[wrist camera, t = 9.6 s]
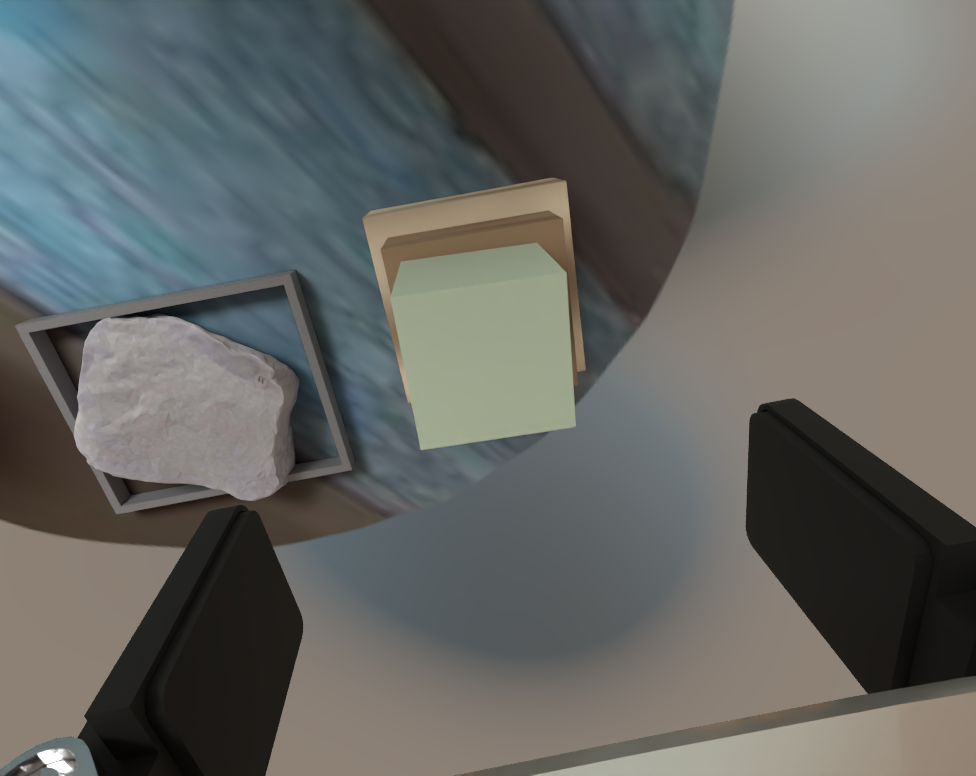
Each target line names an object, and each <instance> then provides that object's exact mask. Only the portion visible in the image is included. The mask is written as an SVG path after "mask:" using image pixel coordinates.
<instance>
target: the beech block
mask: <svg viewBox="0 0 976 776" xmlns="http://www.w3.org/2000/svg"><path fill="white" fill-rule="evenodd" d="M543 211H550V212H552V213H554V214H556V215H557V216H559V217H561V218H563V224H564V235H565V246H566V256H567V267H568V278H569V288H570V299H571V310H572V320H573V331H574V341H575V352H576V363H577V372H580V371H586V368H585V358H584V348H583V339H582V329H581V319H580V309H579V300H578V290H577V280H576V270H575V261H574V251H573V241H572V231H571V222H570V212H569V202H568V193H567V183H566V181H565V180H561V179H557V178H547V179H542V180H536V181H531V182H525V183H520V184H514V185H509V186H504V187H498V188H493V189H487V190H482V191H476V192H471V193H465V194H460V195H454V196H449V197H443V198H438V199H433V200H427V201H422V202H416V203H411V204H405V205H400V206H394V207H389V208H383V209H378V210H372V211H370V212H369V213H368V214H367V215H365V216H364V217H363V218H362V220H363V224H364V228H365V232H366V236H367V240H368V244H369V248H370V252H371V256H372V260H373V264H374V268H375V272H376V276H377V280H378V284H379V288H380V292H381V296H382V300H383V304H384V308H385V312H386V316H387V320H388V324H389V328H390V332H391V336H392V340H393V344H394V348H395V352H396V356H397V360H398V364H399V368H400V372H401V376H402V380H403V384H404V388H405V392H406V396H407V400H408V403H411V399H410V394H409V389H408V384H407V379H406V374H405V369H404V364H403V359H402V354H401V349H400V344H399V339H398V334H397V329H396V324H395V319H394V314H393V309H392V304H391V299H390V297H391V293H390V289H389V284H388V280H387V276H386V271H385V267H384V262H383V258H382V254H381V248H382V246H383V245H384V243H385V241H386V240H387V238H388V237H394V236H400V235H406V234H412V233H418V232H424V231H430V230H436V229H442V228H448V227H454V226H460V225H465V224H471V223H477V222H483V221H489V220H495V219H501V218H507V217H513V216H519V215H525V214H531V213H537V212H543Z"/></svg>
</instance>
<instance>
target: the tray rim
mask: <svg viewBox="0 0 976 776" xmlns="http://www.w3.org/2000/svg"><path fill="white" fill-rule="evenodd" d="M280 285H284V287H285V290H286V293H287V296H288V299H289V303H290V306H291V309H292V312H293V315H294V318H295V321H296V324H297V327H298V330H299V333H300V337H301V340H302V343H303V346H304V349H305V352H306V355H307V358H308V361H309V364H310V367H311V371H312V374H313V377H314V380H315V383H316V386H317V389H318V392H319V395H320V398H321V401H322V405H323V408H324V411H325V414H326V417H327V420H328V423H329V426H330V429H331V432H332V435H333V439H334V442H335V445H336V448H337V451H338V454H339V456H338V457H333V458H327V459H322V460H317V461H311V462H306V463H301V464H295V466H294V468H293V469H292V471H291V472H290V473H289V474H288V476H287V478H288V481H287V482H292V481H297V480H302V479H307V478H313V477H318V476H323V475H329V474H334V473H339V472H345V471H350V470H352V468H353V465H354V461H355V459H354V456H353V453H352V450H351V447H350V443H349V440H348V437H347V434H346V430H345V427H344V424H343V421H342V418H341V414H340V411H339V408H338V405H337V402H336V398H335V395H334V392H333V389H332V386H331V382H330V379H329V376H328V373H327V369H326V366H325V363H324V360H323V357H322V353H321V350H320V347H319V344H318V341H317V337H316V334H315V331H314V328H313V324H312V321H311V318H310V315H309V312H308V308H307V305H306V302H305V299H304V296H303V292H302V289H301V286H300V283H299V280H298V276H297V273H296V270H291V271H286V272H280V273H275V274H270V275H264V276H259V277H254V278H248V279H243V280H237V281H232V282H227V283H221V284H216V285H211V286H205V287H200V288H195V289H189V290H184V291H179V292H173V293H168V294H163V295H157V296H152V297H146V298H141V299H136V300H130V301H125V302H120V303H114V304H109V305H104V306H98V307H93V308H88V309H82V310H77V311H72V312H66V313H61V314H56V315H50V316H45V317H39V318H34V319H29V320H27V321H24V322H22V323H20V324H17V325H15V327H16V329H17V331H18V333H19V335H20V337H21V338H22V340H23V342H24V344H25V346H26V348H27V350H28V351H29V353H30V355H31V357H32V359H33V361H34V363H35V364H36V366H37V368H38V370H39V372H40V374H41V375H42V377H43V379H44V381H45V383H46V385H47V387H48V388H49V390H50V392H51V394H52V396H53V398H54V400H55V401H56V403H57V405H58V407H59V409H60V411H61V413H62V414H63V416H64V418H65V420H66V422H67V424H68V426H69V427H70V429H71V431H72V433H73V435H74V427H75V421H76V418H77V414H78V411H79V404H78V399H77V395H78V393H77V391H76V389H75V387H74V385H73V383H72V381H71V379H70V377H69V375H68V373H67V371H66V369H65V367H64V366H63V364H62V362H61V360H60V358H59V356H58V354H57V352H56V350H55V348H54V346H53V344H52V342H51V340H50V338H49V337H48V335H47V333H46V331H45V329H50V328H56V327H61V326H66V325H72V324H77V323H83V322H88V321H93V320H99V319H104V318H109V317H115V316H120V315H125V314H131V313H136V312H141V311H147V310H152V309H157V308H163V307H168V306H173V305H179V304H184V303H189V302H195V301H200V300H206V299H211V298H216V297H222V296H227V295H232V294H238V293H243V292H248V291H254V290H259V289H264V288H270V287H275V286H280ZM86 459H87V458H86ZM90 466H91V468H92V470H93V472H94V474H95V476H96V477H97V479H98V481H99V483H100V485H101V487H102V489H103V490H104V492H105V494H106V496H107V498H108V500H109V502H110V503H111V505H112V507H113V509H114V511H115V513H116V514H121V513H127V512H132V511H137V510H143V509H148V508H153V507H158V506H164V505H169V504H174V503H180V502H185V501H190V500H196V499H201V498H206V497H212V496H217V495H222V494H228V493H227V492H225V491H223V490H215V489H211V488H208V487H205V486H201V485H194V484H189V485H184V486H178V487H173V488H168V489H162V490H157V491H152V492H146V493H141V494H136V495H130V493H129V491H128V489H127V487H126V485H125V483H124V481H123V479H122V478H121V477H115V476H112V475H111V474H109V473H107V472H103V471H101V470H98V469H95V468H94V467H93V466H92V465H90Z"/></svg>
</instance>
